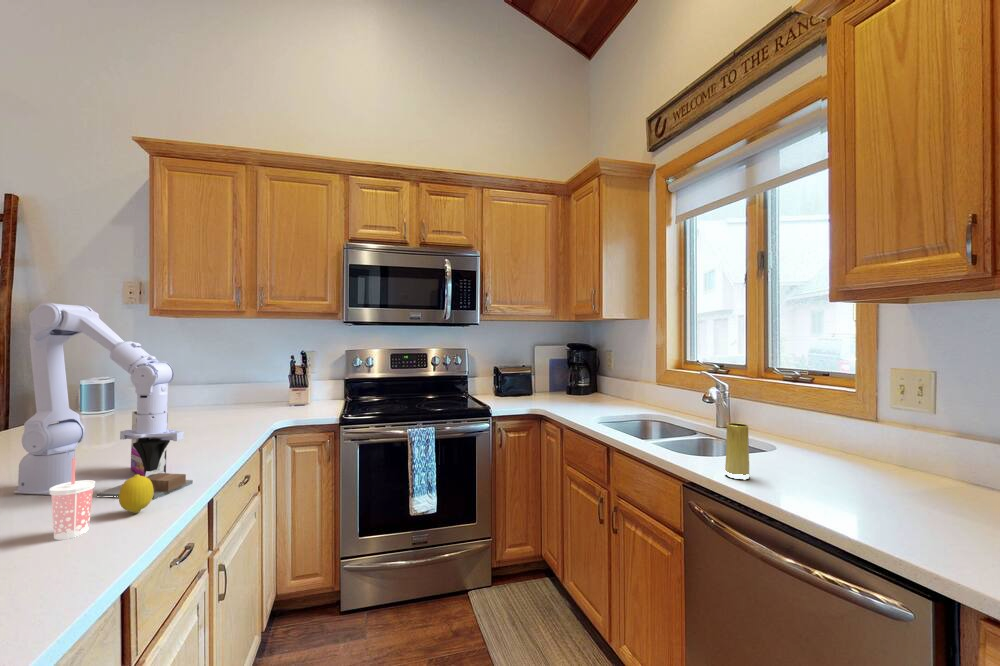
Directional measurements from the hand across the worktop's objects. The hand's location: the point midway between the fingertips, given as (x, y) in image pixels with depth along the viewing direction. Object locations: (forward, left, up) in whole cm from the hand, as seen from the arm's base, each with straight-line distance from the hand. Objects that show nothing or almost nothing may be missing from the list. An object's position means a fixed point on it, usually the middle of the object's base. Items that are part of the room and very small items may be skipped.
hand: (151, 470), depth 104 cm
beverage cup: (+6, -23, -5) cm, 24 cm away
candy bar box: (-12, +12, -5) cm, 18 cm away
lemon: (+9, -13, -5) cm, 17 cm away
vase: (+146, +27, -5) cm, 149 cm away
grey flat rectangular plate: (-1, 0, -5) cm, 5 cm away
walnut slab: (0, 0, -3) cm, 3 cm away
